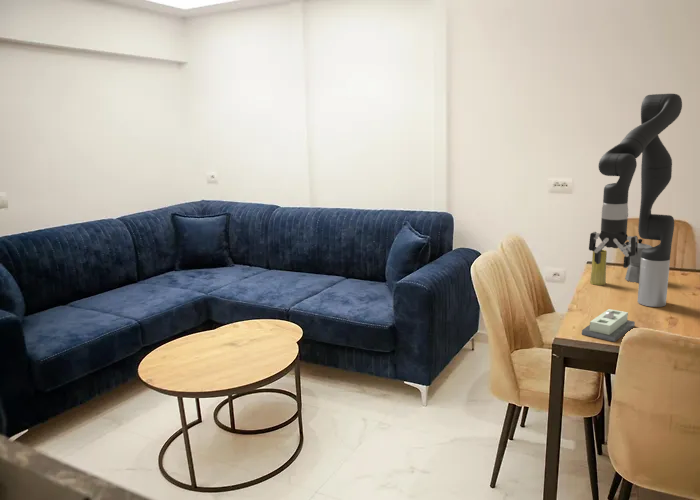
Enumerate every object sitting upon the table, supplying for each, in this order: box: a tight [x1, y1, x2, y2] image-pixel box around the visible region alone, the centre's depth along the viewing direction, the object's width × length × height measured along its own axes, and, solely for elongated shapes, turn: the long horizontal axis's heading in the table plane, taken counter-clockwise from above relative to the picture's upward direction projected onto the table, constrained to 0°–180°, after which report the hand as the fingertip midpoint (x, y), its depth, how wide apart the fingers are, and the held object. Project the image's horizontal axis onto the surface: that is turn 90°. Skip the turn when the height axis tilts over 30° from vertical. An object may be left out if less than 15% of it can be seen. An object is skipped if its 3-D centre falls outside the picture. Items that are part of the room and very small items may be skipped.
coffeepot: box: [624, 238, 653, 284], centre depth 226 cm, size 15×9×18 cm, turn 13°
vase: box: [589, 249, 608, 286], centre depth 223 cm, size 6×6×14 cm
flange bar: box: [589, 308, 629, 335], centre depth 172 cm, size 16×6×3 cm, turn 135°
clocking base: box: [581, 310, 636, 343], centre depth 172 cm, size 18×10×6 cm, turn 135°
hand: (611, 265), depth 173 cm, fingers open, 8 cm apart
